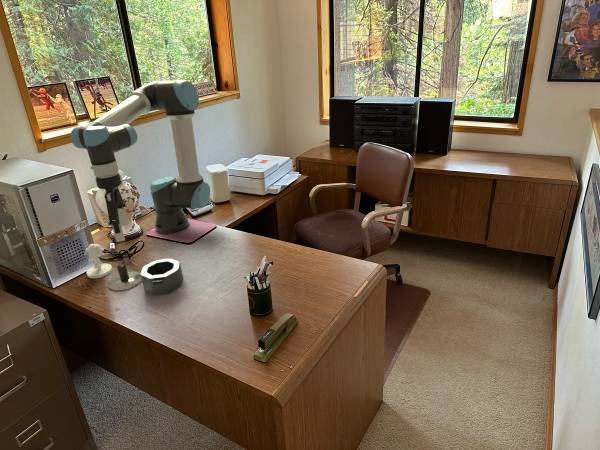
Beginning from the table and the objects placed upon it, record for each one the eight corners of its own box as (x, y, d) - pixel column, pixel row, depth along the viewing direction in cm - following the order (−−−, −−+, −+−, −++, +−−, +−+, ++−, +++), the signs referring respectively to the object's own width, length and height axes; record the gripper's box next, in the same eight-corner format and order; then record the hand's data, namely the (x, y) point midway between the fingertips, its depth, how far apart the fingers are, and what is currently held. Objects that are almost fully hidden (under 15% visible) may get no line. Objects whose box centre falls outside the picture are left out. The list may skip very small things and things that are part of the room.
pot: (150, 275, 161) (146, 259, 158) (184, 271, 162) (181, 255, 159) (141, 299, 147) (137, 282, 144) (180, 294, 148) (176, 277, 145)
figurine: (82, 275, 165) (72, 248, 160) (101, 264, 172) (93, 237, 167) (98, 280, 161) (89, 252, 156) (117, 268, 168) (109, 241, 163)
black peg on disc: (113, 276, 164) (108, 260, 161) (145, 271, 165) (141, 256, 162) (104, 293, 153) (99, 276, 150) (139, 288, 154) (134, 272, 151)
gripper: (100, 166, 151) (115, 221, 160) (88, 188, 129) (106, 250, 138) (122, 163, 153) (136, 217, 162) (114, 184, 131) (131, 245, 140)
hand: (122, 232), depth 150 cm, fingers open, 13 cm apart
